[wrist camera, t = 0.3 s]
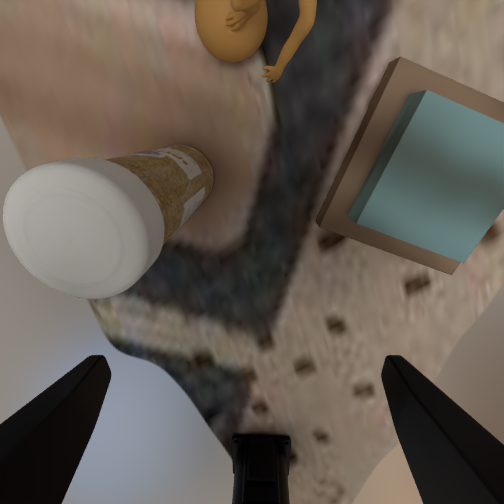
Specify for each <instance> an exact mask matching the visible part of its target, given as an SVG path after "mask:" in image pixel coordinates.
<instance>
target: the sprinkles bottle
mask: <svg viewBox="0 0 504 504" xmlns="http://www.w3.org/2000/svg"><path fill="white" fill-rule="evenodd" d="M213 178H214V177H213V170H212V167H211V165H210V163H209V161H208V160H207V159H206V157H205V156H204V155H203V154H202V153H201V152H200V151H198V150H197V149H195V148H193V147H190V146H187V145H182V144H178V145H172V146H169V147H167V148H160V149H154V150H149V151H144V152H138V153H133V154H128V155H124V156H121V157H117V158H111V159H107V160H104V159H98V158H89V157H88V158H75V159H67V160H62V161H56V162H51V163H46V164H42V165H39V166H36V167H34V168H32V169H30V170H28V171H26V172H25V173H24V174H22V175H21V176H20V177H19V178H18V179H17V180H16V181H15V182H14V183H13V185H12V186H11V188H10V189H9V191H8V194H7V196H6V199H5V202H4V208H3V223H4V229H5V233H6V236H7V239H8V242H9V244H10V246H11V248H12V250H13V252H14V253H15V255H16V256H17V258H18V259H19V261H20V262H21V263H22V264H23V266H24V267H25V268H26V269H27V270H28V271H29V272H30V273H31V274H32V275H34V276H35V277H36V278H37V279H38V280H40V281H41V282H42V283H44V284H45V285H47V286H49V287H51V288H52V289H54V290H56V291H59V292H61V293H64V294H67V295H70V296H73V297H78V298H85V299H102V298H107V297H111V296H114V295H117V294H119V293H121V292H123V291H125V290H127V289H128V288H130V287H131V286H132V285H133V284H134V283H136V282H137V281H138V280H139V279H140V278H141V277H142V275H143V274H144V273H145V272H146V271H147V270H148V269H149V268H150V266H151V265H152V264H153V263H154V262H155V260H156V259H157V258H158V256H159V254H160V252H161V249H162V246H163V244H164V243H165V242H166V241H167V240H168V239H169V238H171V237H172V236H173V235H174V234H175V233H176V232H177V231H178V230H179V229H180V227H181V226H182V225H183V224H184V223H185V222H186V221H187V220H188V218H189V217H190V216H191V215H192V214H193V213H194V211H195V210H196V209H197V208H198V207H199V205H200V204H201V203H202V202H203V201H204V200H205V199H206V198H207V197H208V196H209V194H210V193H211V189H212V186H213V183H214V182H213Z"/></svg>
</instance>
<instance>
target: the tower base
mask: <svg viewBox="0 0 504 504" xmlns="http://www.w3.org/2000/svg"><path fill="white" fill-rule="evenodd" d="M503 209H504V102H501V101H499V100H497V99H495V98H492V97H490V96H488V95H486V94H483V93H481V92H479V91H477V90H474V89H472V88H470V87H468V86H465V85H463V84H461V83H459V82H456V81H454V80H452V79H450V78H447V77H445V76H443V75H441V74H439V73H436V72H434V71H432V70H430V69H427V68H425V67H423V66H421V65H418V64H416V63H414V62H412V61H409V60H407V59H405V58H403V57H399V58H397V59H395V60H394V61H392V62H390V64H389V66H388V68H387V70H386V72H385V74H384V76H383V79H382V81H381V83H380V85H379V87H378V89H377V91H376V93H375V96H374V98H373V100H372V102H371V104H370V106H369V108H368V111H367V113H366V115H365V117H364V119H363V121H362V123H361V126H360V128H359V130H358V132H357V134H356V136H355V138H354V140H353V143H352V145H351V147H350V149H349V151H348V153H347V155H346V158H345V160H344V162H343V164H342V166H341V168H340V170H339V172H338V175H337V177H336V179H335V181H334V183H333V185H332V187H331V190H330V192H329V194H328V196H327V198H326V200H325V202H324V205H323V207H322V209H321V211H320V213H319V215H318V217H317V219H316V222H317V224H318V226H319V227H321V228H324V229H326V230H329V231H332V232H335V233H337V234H340V235H343V236H345V237H348V238H351V239H354V240H356V241H359V242H362V243H365V244H367V245H370V246H373V247H376V248H378V249H381V250H384V251H387V252H389V253H392V254H395V255H398V256H400V257H403V258H406V259H408V260H411V261H414V262H417V263H419V264H422V265H425V266H428V267H430V268H433V269H436V270H439V271H441V272H444V273H447V274H450V275H452V274H453V273H454V271H455V270H456V268H457V267H458V266H459V264H460V263H461V262H462V263H464V262H465V261H466V260H467V258H468V257H469V255H470V254H471V253H472V251H473V250H474V249H475V247H476V246H477V244H478V243H479V242H480V240H481V239H482V238H483V236H484V235H485V233H486V232H487V231H488V229H489V228H490V227H491V225H492V224H493V222H494V221H495V220H496V218H497V217H498V216H499V214H500V213H501V211H502V210H503Z"/></svg>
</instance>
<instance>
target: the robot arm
mask: <svg viewBox="0 0 504 504" xmlns="http://www.w3.org/2000/svg"><path fill="white" fill-rule="evenodd" d="M381 378H382V382H383V386H384V390H385V394H386V397H387V401H388V405H389V408H390V412H391V416H392V419H393V423H394V426H395V430H396V433H397V436H398V438H399V441H400V444H401V446H402V449H403V452H404V454H405V457H406V459H407V462H408V465H409V467H410V470H411V472H412V475H413V478H414V480H415V483H416V485H417V488H418V490H419V493H420V496H421V498H422V501H423V504H504V445H503V444H502V443H501V442H500V441H499V440H498V439H496V438H495V437H494V436H493V435H492V434H491V433H490V432H488V431H487V430H486V429H485V428H484V427H483V426H482V425H480V424H479V423H478V422H477V421H476V420H475V419H474V418H472V417H471V416H470V415H469V414H468V413H467V412H465V411H464V410H463V409H462V408H461V407H460V406H458V405H457V404H456V403H455V402H454V401H453V400H452V399H451V398H449V397H448V396H447V395H446V394H445V393H444V392H442V391H441V390H440V389H439V388H438V387H437V386H435V385H434V384H433V383H432V382H431V381H430V380H429V379H428V378H426V377H425V376H424V375H423V374H422V373H421V372H419V371H418V370H417V369H416V368H415V367H414V366H413V365H411V364H410V363H409V362H408V361H407V360H406V359H405V358H403V357H402V356H400V355H388V356H386V358H385V361H384V365H383V369H382V373H381ZM110 380H111V370H110V368H109V366H108V363H107V360H106V358H105V357H104V356H103V355H91V356H89V357H87V358H86V359H85V360H84V361H82V362H81V363H80V364H78V365H77V366H76V367H74V368H73V369H72V370H70V371H69V372H68V373H67V374H65V375H64V376H63V377H61V378H60V379H59V380H57V381H56V382H55V383H54V384H52V385H51V386H50V387H48V388H47V389H46V390H44V391H43V392H42V393H40V394H39V395H38V396H37V397H35V398H34V399H33V400H31V401H30V402H29V403H27V404H26V405H25V406H23V407H22V408H21V409H20V410H18V411H17V412H16V413H14V414H13V415H12V416H10V417H9V418H8V419H7V420H5V421H4V422H3V423H1V424H0V504H61V503H62V501H63V499H64V497H65V494H66V492H67V490H68V488H69V485H70V483H71V481H72V479H73V476H74V474H75V471H76V469H77V467H78V465H79V462H80V460H81V458H82V456H83V453H84V451H85V449H86V447H87V444H88V442H89V439H90V438H91V435H92V433H93V430H94V428H95V425H96V422H97V419H98V416H99V413H100V410H101V407H102V404H103V401H104V398H105V395H106V392H107V389H108V386H109V383H110ZM290 451H291V438H290V437H287V436H261V435H233V436H232V459H233V473H234V474H235V475H234V487H233V499H232V504H290V503H289V489H288V475H289V464H290Z"/></svg>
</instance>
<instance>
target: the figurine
mask: <svg viewBox="0 0 504 504" xmlns="http://www.w3.org/2000/svg"><path fill="white" fill-rule="evenodd" d="M316 4H317V0H299V9H300V16H299V19H298V21H297V23H296V25H295V27H294V29H293V31H292V33H291V35H290V37H289V39H288V40H287V41H286V43H285V45H284V46H283V48H282V50H281V53H280V55H279V58H278V61H277V63H276V65H275V66H264V67H263V69H267V70H269V72H267V73H266V74H264V75H262V77H267V76H270V77H269V78H268V79H267V80H266V81H267V82H269V81H271V80H272V79H274V80H273V81H272V82H275V81H277V80H278V79H279V78H280V76H281V74H282V72H283V70H284V68H285V66H286V64H287V63H288V62H289V61H290V60H291V58H292V57H293V55H294V53H295V52H296V50H297V49H298V47H299V45H300V43H301V42H302V41H303V39H304V38H305V37H306V36H307V34H308V33H309V32H310V30H311V28H312V26H313V24H314V21H315V15H316ZM195 22H196V27H197V31H198V34H199V36H200V39H201V41H202V42H203V44H204V46H205V47H206V48H207V50H208V51H209V52H210V53H211V54H212V55H214V56H215V57H217V58H218V59H220V60H223V61H226V62H240V61H243V60H245V59H247V58H249V57H250V56H252V55H253V54H254V53H255V52H256V51H257V50H258V48H259V47H260V45H261V43H262V41H263V39H264V37H265V33H266V29H267V23H268V12H267V5H266V1H265V0H196V4H195Z"/></svg>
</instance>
